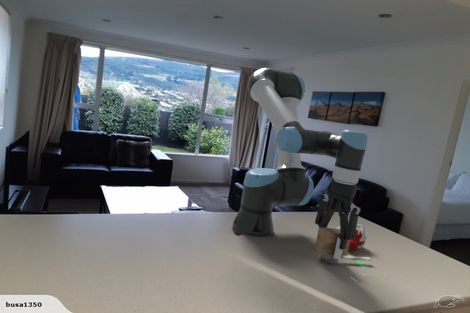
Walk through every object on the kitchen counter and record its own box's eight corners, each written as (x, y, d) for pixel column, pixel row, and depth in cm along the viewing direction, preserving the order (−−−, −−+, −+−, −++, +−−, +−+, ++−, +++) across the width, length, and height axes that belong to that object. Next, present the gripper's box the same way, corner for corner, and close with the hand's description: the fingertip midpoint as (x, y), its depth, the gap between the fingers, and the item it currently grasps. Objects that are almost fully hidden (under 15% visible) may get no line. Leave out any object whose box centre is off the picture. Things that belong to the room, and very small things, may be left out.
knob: (319, 264, 102) (325, 233, 101) (312, 256, 107) (318, 226, 106) (373, 267, 106) (380, 237, 104) (364, 259, 111) (371, 231, 109)
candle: (360, 242, 129) (366, 263, 114) (330, 235, 131) (332, 255, 116) (366, 221, 126) (373, 240, 112) (335, 214, 128) (338, 232, 114)
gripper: (379, 190, 96) (361, 265, 100) (327, 173, 111) (313, 239, 115) (364, 191, 92) (346, 269, 95) (312, 173, 107) (298, 241, 110)
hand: (328, 252), depth 105 cm, fingers open, 6 cm apart
